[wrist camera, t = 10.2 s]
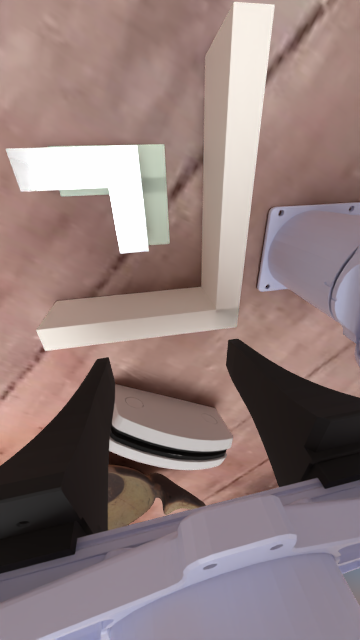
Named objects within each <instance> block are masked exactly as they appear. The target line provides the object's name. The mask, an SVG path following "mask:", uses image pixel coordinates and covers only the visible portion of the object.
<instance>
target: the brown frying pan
mask: <svg viewBox="0 0 360 640" xmlns="http://www.w3.org/2000/svg"><path fill="white" fill-rule="evenodd" d="M155 498H160V499H161V500H162V503H163V511H164V514H165V515H167V514H169V513H171V512H172V511H174V510H176V509H180V508H187V509H195V508H199V507H203V506H206V505H205V504H204V503H203V502H202V501H201V500H199V499H198V498H197V497H195V496H194V495H192V494H191V493H189V492H188V491H186V490H184V489H183V488H181V487H180V486H178V485H176V484H175V483H174V482H172V481H171V480H169V479H168V478H167V477H165V476H164V475H162V474H159V473H151V474H148V475H144V474H143V473H141V472H140V471H138V470H135V469H132V468H129V467H124V466H118V465H108V530H112V529H116V528H120V527H124V526H127V525H129V524H130V523H131V522H134V521H135V520H136V519H137V518H139V517H140V516H142V515H143V514H144V513H145V512H147V511H148V510H149V509H150V507H151V506H152V504H153V503H154V500H155Z"/></svg>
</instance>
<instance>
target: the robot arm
mask: <svg viewBox="0 0 360 640" xmlns="http://www.w3.org/2000/svg"><path fill="white" fill-rule="evenodd" d="M350 207H351V209H350V210H349V208H350ZM280 210H281V211H282V213H281V215H280V216H279V215H278V213H279V211H280ZM266 285H268V287H266ZM265 287H266V288H265ZM257 289H258V290H259V291H261V292H263V291H273V290H282V289H289V290H291V291H292V292H294V293H295V294H297V295H298V296H300V297H301V298H303V299H304V300H306V301H307V302H309V303H310V304H312V305H313V306H315V307H316V308H318V309H319V310H321V311H322V312H323V313H325V314H326V315H328V316H329V317H331V318H332V319H334V320H335V321H337V322H339V323H340V324H341V325H342V327H343V335H345V336H346V337H348V338H349V339H350V340H352V341H353V342H355V343H356V347H355V358H356V361H357V363H358V366H359V367H360V202H354V203H335V204H317V205H299V206H281V207H273V208H271V209H270V211H269V214H268V221H267V227H266V233H265V240H264V246H263V253H262V259H261V265H260V272H259V278H258V284H257ZM226 366H227V369H228V372H229V374H230V377H231V379H232V381H233V383H234V385H235V387H236V388H237V390H238V392H239V394H240V396H241V397H242V399H243V401H244V403H245V405H246V406H247V408H248V410H249V412H250V414H251V416H252V418H253V421H254V423H255V425H256V428H257V430H258V432H259V435H260V437H261V440H262V442H263V445H264V447H265V450H266V452H267V455H268V458H269V460H270V463H271V466H272V468H273V471H274V474H275V477H276V480H277V483H278V486H279V488H275V489H271V490H267V491H263V492H259V493H255V494H251V495H247V496H243V497H239V498H235V499H231V500H227V501H223V502H219V503H215V504H211V505H207V506H203V507H199V508H195V509H191V510H187V511H183V512H179V513H175V514H171V515H167V516H163V517H159V518H156V519H152V520H148V521H144V522H140V523H136V524H132V525H128V526H124V527H120V528H116V529H112V530H108V465H109V442H110V433H111V426H112V419H113V411H114V404H115V380H114V376H113V373H112V369H111V365H110V361H109V357H108V358H101V359H97V360H96V362H95V363H94V365H93V367H92V368H91V370H90V372H89V373H88V375H87V376H86V378H85V379H84V381H83V382H82V384H81V385H80V387H79V388H78V390H77V391H76V392H75V394H74V395H73V396H72V398H71V399H70V400H69V402H68V403H67V404H66V405H65V406H64V408H63V409H62V410H61V411H60V412H59V413H58V415H57V416H56V417H55V418H54V419H53V420H52V421H51V422H50V423H49V424H48V425H47V426H46V427H45V428H44V429H43V430H42V431H41V432H40V433H39V434H38V435H37V436H36V437H35V438H34V439H32V440H31V441H30V442H29V443H28V444H27V445H26V446H25V447H23V448H22V449H21V450H20V451H19V452H17V453H16V454H15V455H14V456H13V457H11V458H10V459H9V460H7V461H6V462H5V463H4V464H2V465H1V466H0V640H360V606H359V605H358V602H357V601H356V599H355V597H354V595H353V593H352V591H351V590H350V588H349V586H348V584H347V582H346V580H345V578H344V577H343V575H342V574H344V573H346V572H349V571H352V570H354V569H357V568H360V398H358V397H355V396H351V395H348V394H344V393H341V392H338V391H335V390H332V389H329V388H326V387H323V386H321V385H318V384H316V383H313V382H311V381H309V380H306V379H304V378H302V377H299V376H297V375H295V374H293V373H291V372H289V371H287V370H286V369H284V368H282V367H280V366H278V365H277V364H275V363H273V362H272V361H270V360H268V359H267V358H265V357H264V356H262V355H261V354H259V353H258V352H256V351H255V350H254V349H252V348H251V347H249V346H248V345H246V344H245V343H244V342H242V341H241V340H239V339H232V340H228V350H227V361H226Z"/></svg>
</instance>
